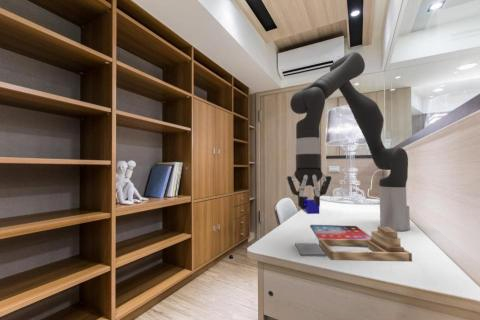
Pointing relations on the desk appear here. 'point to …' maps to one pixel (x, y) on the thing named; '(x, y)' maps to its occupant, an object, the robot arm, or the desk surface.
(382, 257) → the rack
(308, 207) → the cable holder
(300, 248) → the felt pad
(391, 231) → the offcut stack
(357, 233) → the tablet
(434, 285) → the desk surface
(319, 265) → the desk surface
